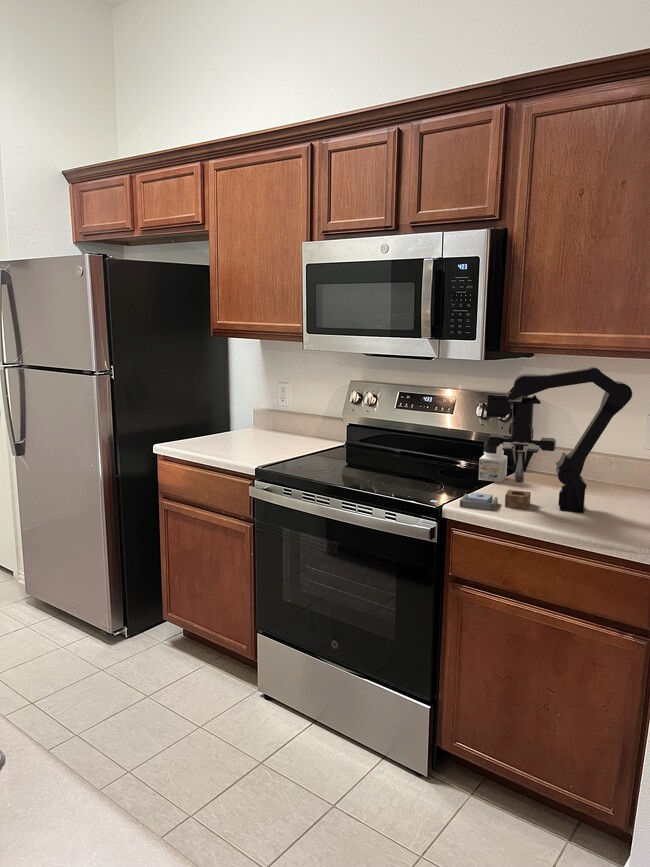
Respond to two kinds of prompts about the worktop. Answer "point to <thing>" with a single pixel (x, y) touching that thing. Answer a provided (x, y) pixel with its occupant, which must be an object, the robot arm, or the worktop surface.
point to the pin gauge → (519, 466)
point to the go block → (517, 499)
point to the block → (480, 497)
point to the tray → (478, 503)
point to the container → (493, 464)
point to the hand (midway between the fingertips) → (519, 471)
